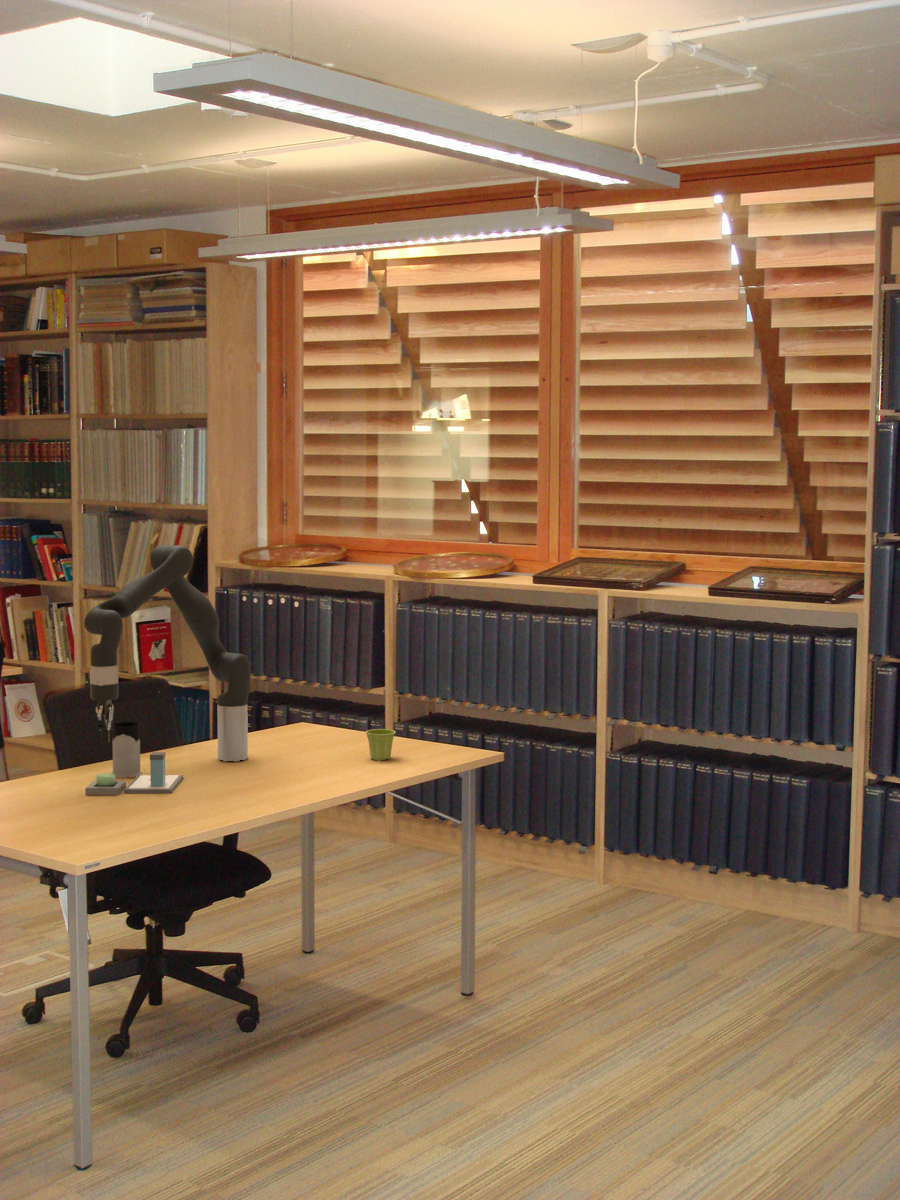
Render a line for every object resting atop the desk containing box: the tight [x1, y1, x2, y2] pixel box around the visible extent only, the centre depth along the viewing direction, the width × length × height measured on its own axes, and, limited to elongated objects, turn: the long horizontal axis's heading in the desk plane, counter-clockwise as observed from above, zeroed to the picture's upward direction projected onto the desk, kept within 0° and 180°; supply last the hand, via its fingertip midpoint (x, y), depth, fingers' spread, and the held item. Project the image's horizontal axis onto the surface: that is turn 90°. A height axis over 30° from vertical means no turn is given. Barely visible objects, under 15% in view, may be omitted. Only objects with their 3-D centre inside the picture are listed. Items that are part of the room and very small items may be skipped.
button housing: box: [84, 780, 127, 796], centre depth 356 cm, size 9×9×2 cm
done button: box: [95, 773, 116, 786], centre depth 356 cm, size 5×5×2 cm
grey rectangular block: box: [149, 751, 166, 787], centre depth 358 cm, size 4×4×9 cm
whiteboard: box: [123, 774, 184, 794], centre depth 364 cm, size 18×13×1 cm
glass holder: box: [111, 721, 143, 779], centre depth 380 cm, size 9×14×15 cm, turn 1°
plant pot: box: [365, 728, 396, 761], centre depth 402 cm, size 9×9×9 cm
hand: (105, 743), depth 355 cm, fingers closed
